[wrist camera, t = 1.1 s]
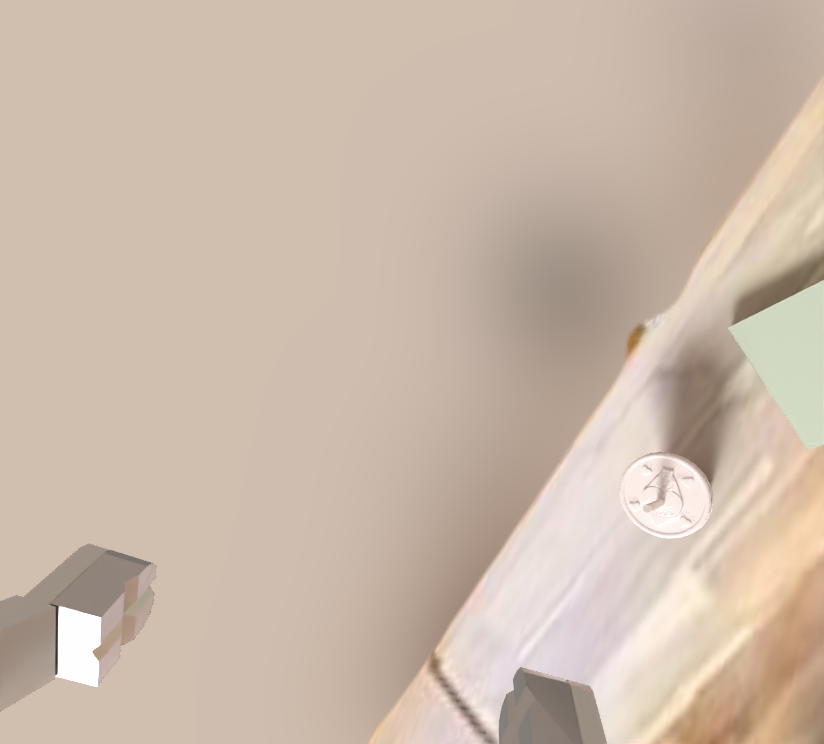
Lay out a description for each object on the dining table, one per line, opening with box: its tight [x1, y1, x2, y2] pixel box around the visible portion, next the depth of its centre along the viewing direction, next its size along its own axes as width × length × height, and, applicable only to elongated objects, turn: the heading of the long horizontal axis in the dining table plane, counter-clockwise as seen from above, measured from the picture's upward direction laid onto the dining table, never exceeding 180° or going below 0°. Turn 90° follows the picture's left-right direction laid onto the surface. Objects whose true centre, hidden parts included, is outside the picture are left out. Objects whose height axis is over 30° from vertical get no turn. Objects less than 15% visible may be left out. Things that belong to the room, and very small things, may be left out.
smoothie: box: [620, 452, 713, 538], centre depth 40 cm, size 6×6×14 cm
